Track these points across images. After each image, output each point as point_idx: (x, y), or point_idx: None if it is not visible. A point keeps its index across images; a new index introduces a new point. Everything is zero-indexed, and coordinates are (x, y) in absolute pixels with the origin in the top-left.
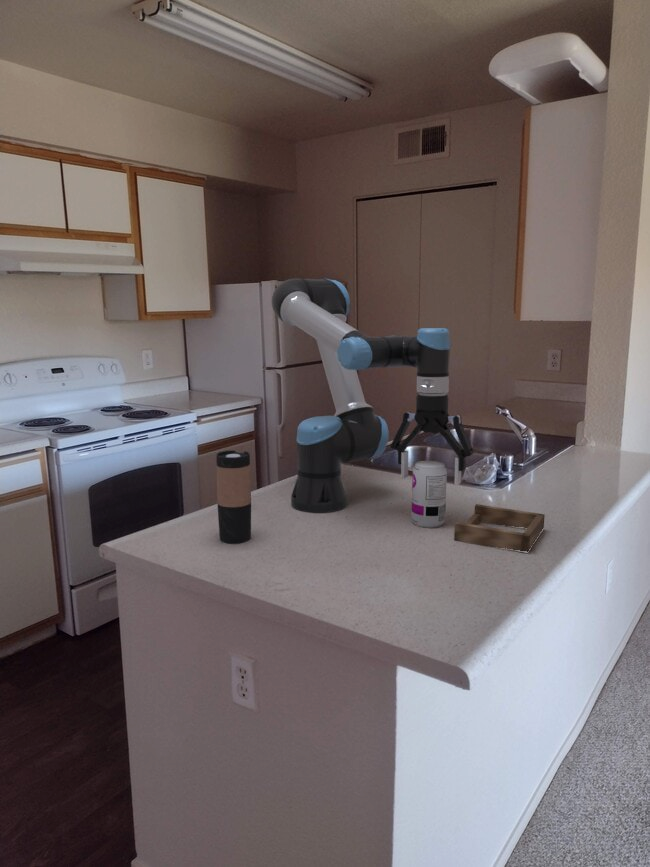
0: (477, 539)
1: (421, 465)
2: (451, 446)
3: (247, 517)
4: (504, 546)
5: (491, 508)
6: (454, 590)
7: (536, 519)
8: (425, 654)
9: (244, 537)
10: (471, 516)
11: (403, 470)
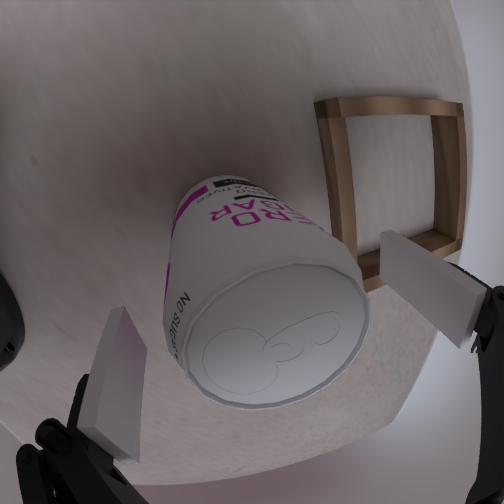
0: None
1: (250, 388)
2: (484, 399)
3: None
4: None
5: (384, 114)
6: (377, 384)
7: (462, 146)
8: (374, 431)
9: None
10: (334, 150)
11: (141, 378)
